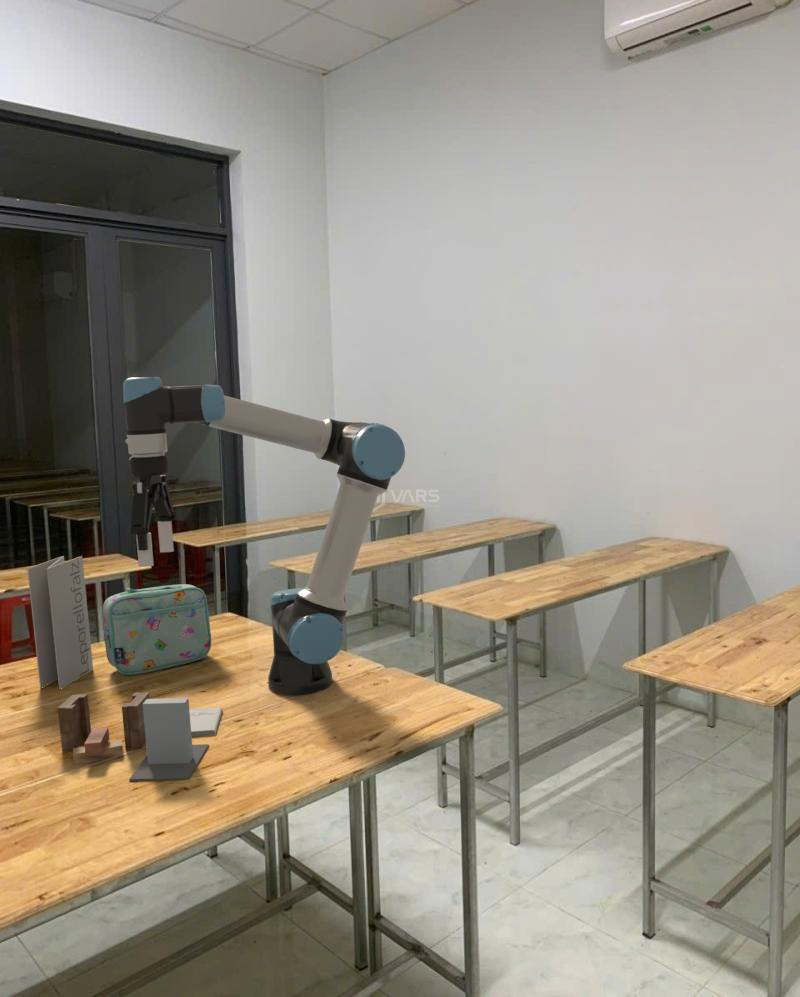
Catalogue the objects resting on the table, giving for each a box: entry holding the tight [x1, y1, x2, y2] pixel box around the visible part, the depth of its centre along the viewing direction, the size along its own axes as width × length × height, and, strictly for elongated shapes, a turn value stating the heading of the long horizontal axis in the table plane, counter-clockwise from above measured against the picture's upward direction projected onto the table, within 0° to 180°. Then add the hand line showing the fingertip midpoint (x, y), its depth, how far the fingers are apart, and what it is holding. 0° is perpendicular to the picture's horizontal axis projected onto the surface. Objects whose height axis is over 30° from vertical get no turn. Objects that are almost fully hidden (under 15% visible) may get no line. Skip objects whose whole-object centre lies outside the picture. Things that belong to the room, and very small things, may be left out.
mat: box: [128, 743, 210, 782], centre depth 157 cm, size 11×14×1 cm
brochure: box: [27, 555, 94, 690], centre depth 204 cm, size 14×6×30 cm, turn 168°
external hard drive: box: [189, 706, 223, 737], centre depth 175 cm, size 2×8×12 cm
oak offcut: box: [72, 739, 124, 766], centre depth 161 cm, size 9×3×2 cm, turn 111°
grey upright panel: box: [143, 697, 193, 764], centre depth 156 cm, size 8×2×12 cm, turn 88°
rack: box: [57, 692, 150, 752], centre depth 167 cm, size 16×8×9 cm, turn 88°
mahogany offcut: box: [83, 726, 110, 756], centre depth 160 cm, size 7×3×2 cm, turn 8°
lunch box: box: [102, 583, 212, 676], centre depth 212 cm, size 27×10×21 cm, turn 120°
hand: (157, 558), depth 168 cm, fingers open, 13 cm apart
